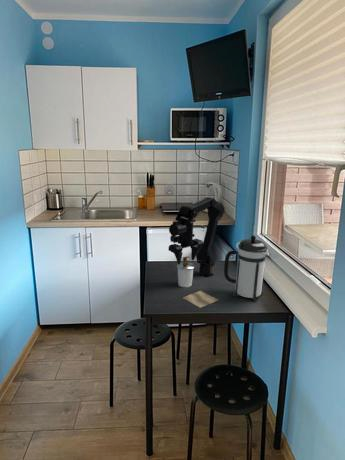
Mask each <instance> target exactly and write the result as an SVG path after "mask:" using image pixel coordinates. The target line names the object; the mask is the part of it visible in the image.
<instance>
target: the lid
mask: <svg viewBox="0 0 345 460" xmlns="http://www.w3.org/2000/svg"><path fill="white" fill-rule="evenodd" d="M176 268H177V269H178V268H179V269H182V270H191V269H193V270H194V269H195V268H196V265H195V263H192V262H190V257H189V256H182V261H181V263H180V264H178V263H177V264H176Z"/></svg>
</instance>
